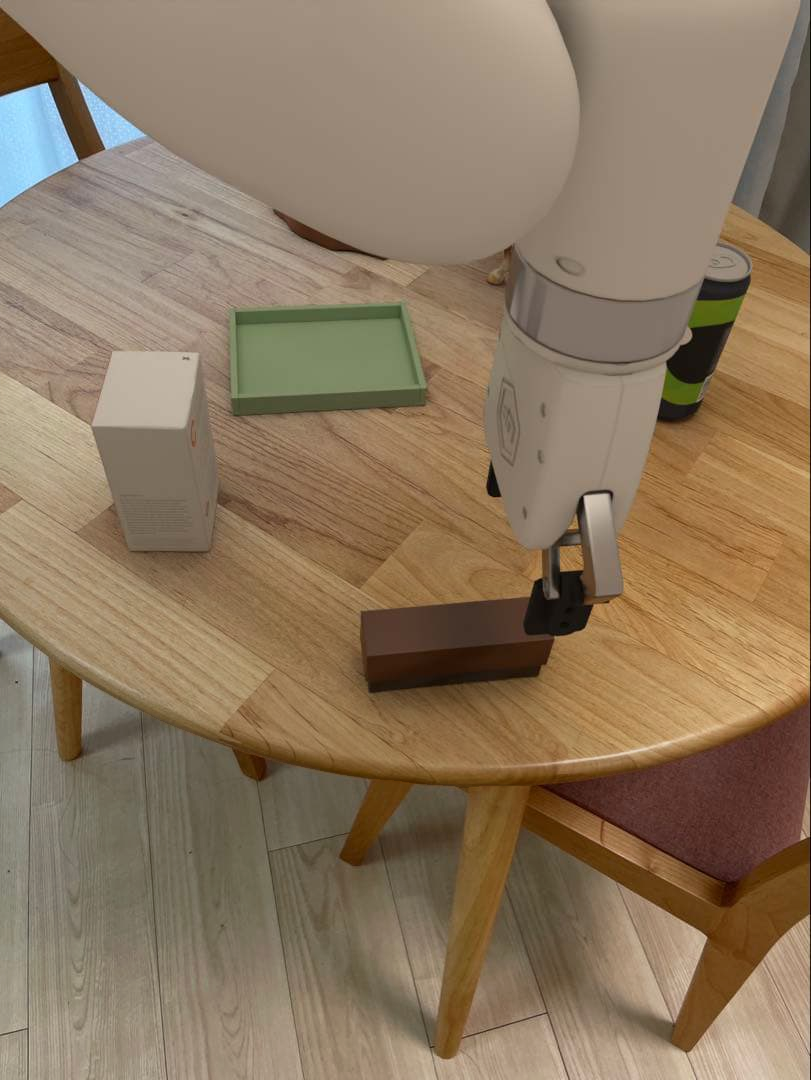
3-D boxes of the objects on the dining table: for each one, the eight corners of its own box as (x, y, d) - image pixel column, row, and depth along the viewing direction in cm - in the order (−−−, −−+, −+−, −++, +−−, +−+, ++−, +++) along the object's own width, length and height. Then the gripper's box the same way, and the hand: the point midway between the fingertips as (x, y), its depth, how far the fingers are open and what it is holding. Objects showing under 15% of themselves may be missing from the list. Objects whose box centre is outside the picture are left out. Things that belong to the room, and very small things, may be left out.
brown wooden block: (365, 694, 60) (366, 656, 56) (359, 650, 62) (360, 610, 58) (542, 677, 62) (555, 638, 58) (530, 634, 64) (541, 595, 60)
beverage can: (678, 376, 84) (730, 234, 73) (710, 418, 81) (771, 275, 69) (619, 385, 83) (664, 242, 71) (650, 429, 79) (701, 285, 68)
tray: (233, 415, 77) (231, 398, 76) (230, 325, 86) (228, 308, 84) (425, 405, 80) (427, 388, 78) (404, 318, 88) (405, 301, 86)
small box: (142, 477, 72) (110, 348, 62) (221, 478, 72) (201, 349, 62) (126, 553, 67) (88, 425, 57) (210, 554, 67) (187, 427, 57)
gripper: (469, 182, 40) (439, 451, 53) (563, 439, 29) (496, 699, 42) (625, 179, 41) (558, 444, 54) (773, 428, 30) (644, 685, 43)
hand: (531, 556), depth 48 cm, fingers open, 9 cm apart
